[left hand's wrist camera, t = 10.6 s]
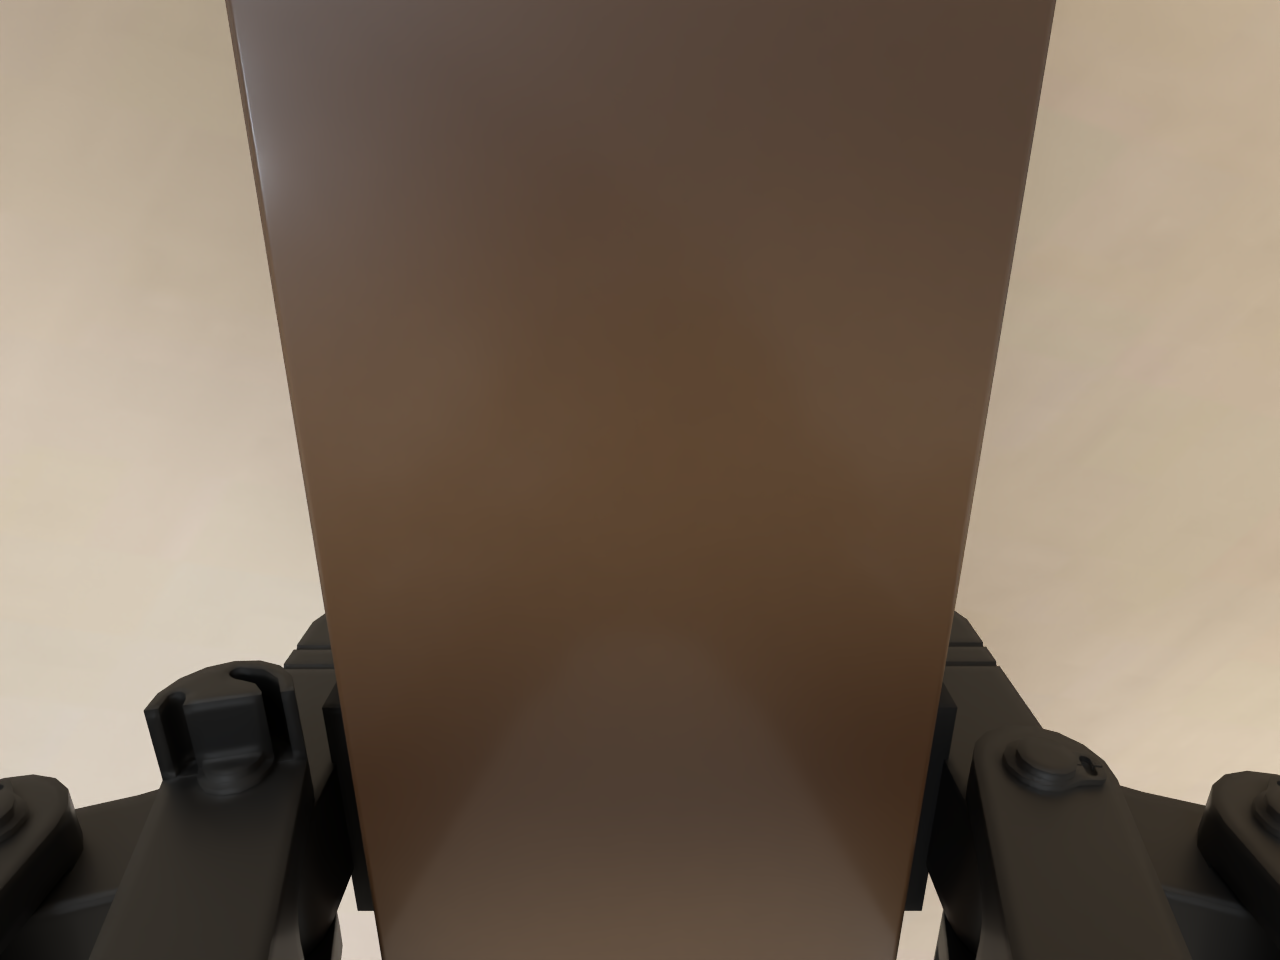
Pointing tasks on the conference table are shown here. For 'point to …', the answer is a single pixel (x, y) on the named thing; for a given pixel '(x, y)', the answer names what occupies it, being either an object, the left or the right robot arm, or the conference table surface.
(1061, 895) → the left robot arm
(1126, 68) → the conference table surface
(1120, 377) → the conference table surface
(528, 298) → the post
